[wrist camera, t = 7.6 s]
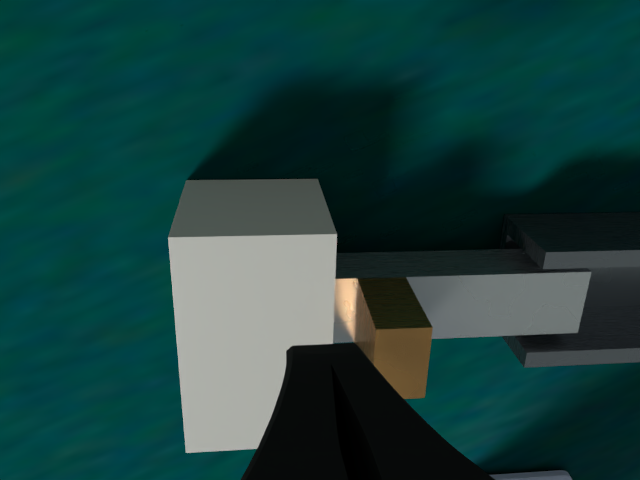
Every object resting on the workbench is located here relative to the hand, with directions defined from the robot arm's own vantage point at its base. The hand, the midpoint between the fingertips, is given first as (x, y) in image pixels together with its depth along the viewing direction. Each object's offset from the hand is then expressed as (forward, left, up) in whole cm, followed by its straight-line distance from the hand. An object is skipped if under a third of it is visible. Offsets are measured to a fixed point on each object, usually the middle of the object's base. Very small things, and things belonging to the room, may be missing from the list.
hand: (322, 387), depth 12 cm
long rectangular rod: (-3, -4, -9) cm, 11 cm away
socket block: (-3, +1, -10) cm, 11 cm away
